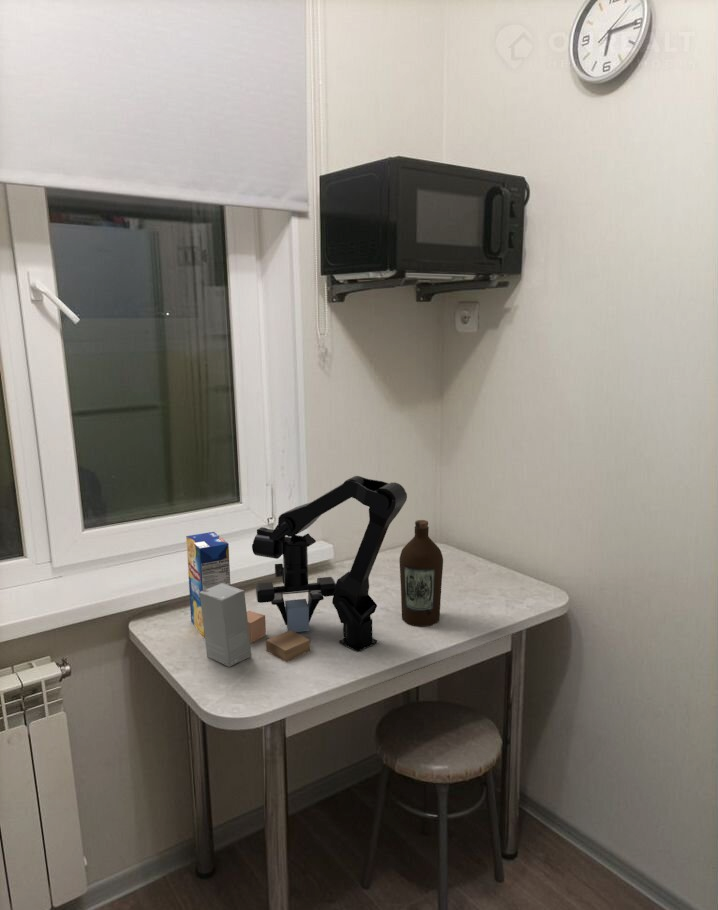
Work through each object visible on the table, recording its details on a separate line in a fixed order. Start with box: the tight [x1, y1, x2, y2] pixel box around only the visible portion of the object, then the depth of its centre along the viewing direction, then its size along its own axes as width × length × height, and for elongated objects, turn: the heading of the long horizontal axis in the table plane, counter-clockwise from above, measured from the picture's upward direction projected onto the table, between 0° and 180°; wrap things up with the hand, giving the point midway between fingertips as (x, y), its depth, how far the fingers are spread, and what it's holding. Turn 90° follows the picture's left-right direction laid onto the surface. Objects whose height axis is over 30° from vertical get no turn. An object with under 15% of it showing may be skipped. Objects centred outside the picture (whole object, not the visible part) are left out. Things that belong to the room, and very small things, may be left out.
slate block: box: [284, 598, 310, 633], centre depth 163 cm, size 5×5×6 cm
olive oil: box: [399, 519, 444, 627], centre depth 167 cm, size 11×11×25 cm
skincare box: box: [200, 583, 252, 668], centre depth 149 cm, size 8×7×16 cm
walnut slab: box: [265, 630, 311, 662], centre depth 153 cm, size 7×7×3 cm
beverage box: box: [185, 531, 231, 639], centre depth 164 cm, size 7×11×22 cm, turn 30°
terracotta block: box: [246, 610, 267, 644], centre depth 160 cm, size 5×5×5 cm
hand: (297, 623), depth 163 cm, fingers closed on slate block, 5 cm apart
